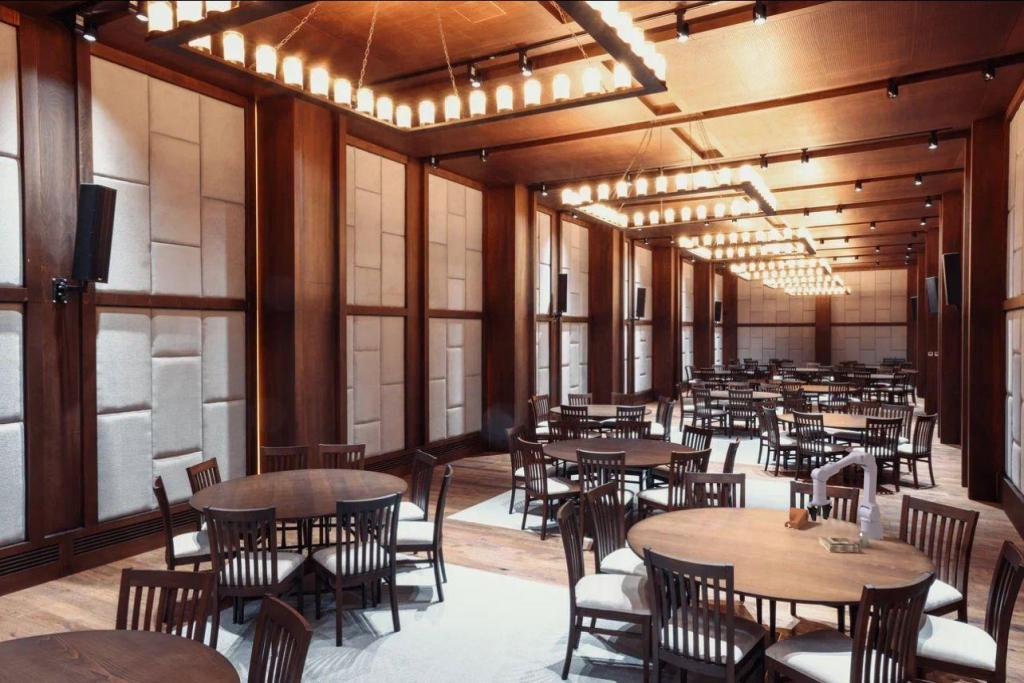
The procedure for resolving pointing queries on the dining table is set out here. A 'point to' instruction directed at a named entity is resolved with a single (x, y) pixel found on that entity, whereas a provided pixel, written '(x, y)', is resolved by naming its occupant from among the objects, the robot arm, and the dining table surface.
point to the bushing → (863, 539)
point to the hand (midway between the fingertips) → (819, 520)
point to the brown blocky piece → (797, 518)
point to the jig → (838, 544)
